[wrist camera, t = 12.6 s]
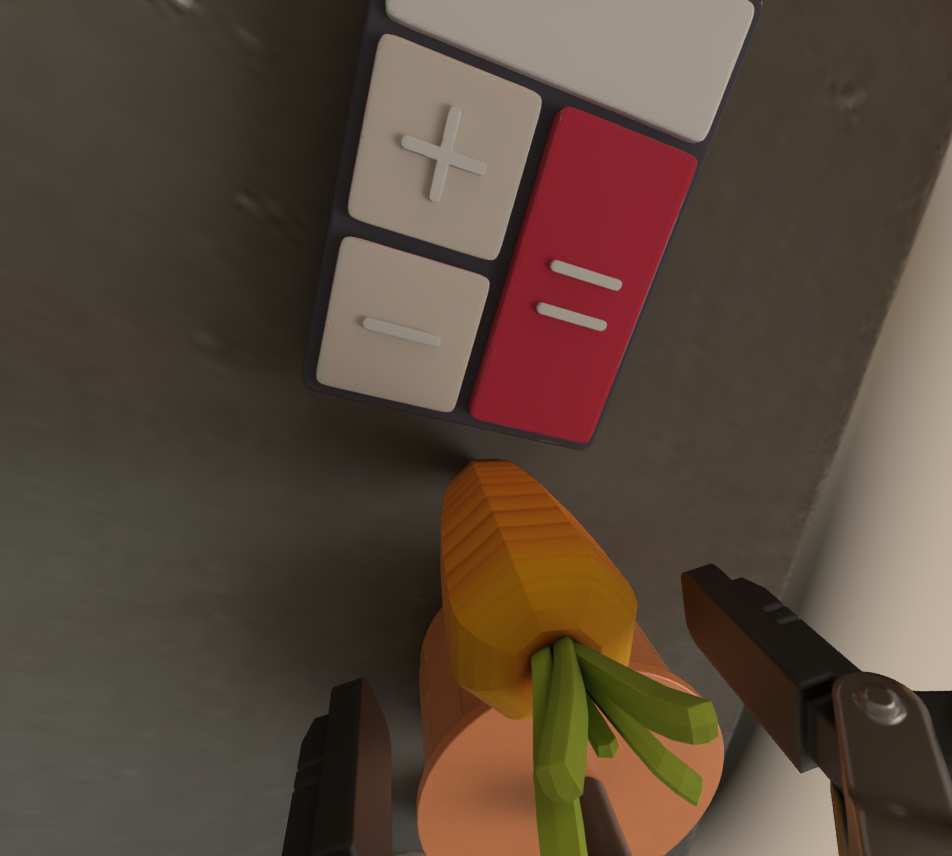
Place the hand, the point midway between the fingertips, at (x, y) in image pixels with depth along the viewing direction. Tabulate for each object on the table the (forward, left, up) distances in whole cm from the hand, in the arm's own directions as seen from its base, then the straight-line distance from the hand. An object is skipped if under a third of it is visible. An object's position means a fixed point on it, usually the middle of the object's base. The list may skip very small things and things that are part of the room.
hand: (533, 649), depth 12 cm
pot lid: (0, -11, -4) cm, 11 cm away
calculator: (+4, +10, -11) cm, 15 cm away
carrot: (0, 0, -11) cm, 11 cm away
